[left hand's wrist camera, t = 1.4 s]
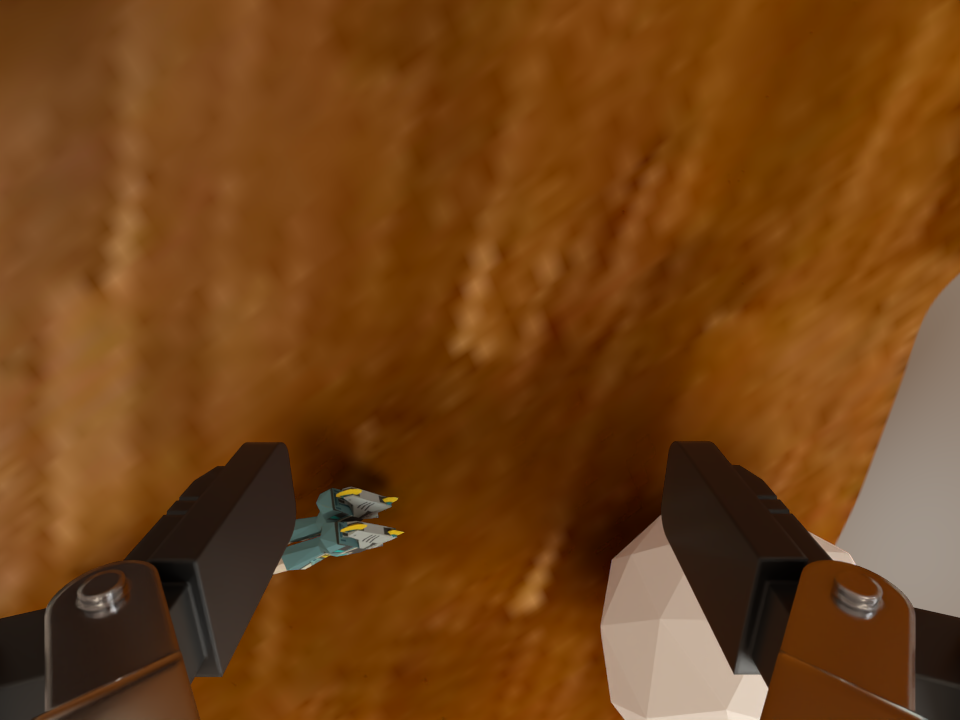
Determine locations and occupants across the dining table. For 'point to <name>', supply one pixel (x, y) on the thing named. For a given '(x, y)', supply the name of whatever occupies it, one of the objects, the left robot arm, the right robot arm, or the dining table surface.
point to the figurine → (338, 528)
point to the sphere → (670, 641)
